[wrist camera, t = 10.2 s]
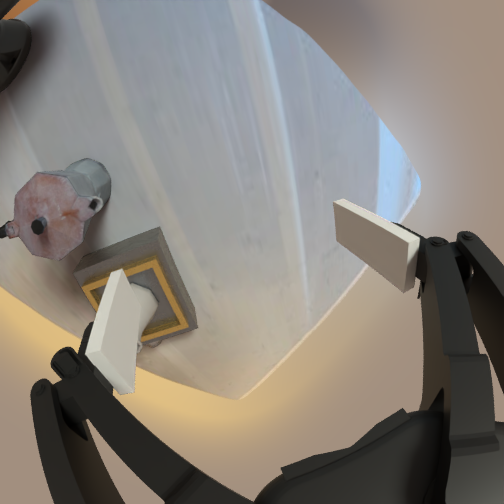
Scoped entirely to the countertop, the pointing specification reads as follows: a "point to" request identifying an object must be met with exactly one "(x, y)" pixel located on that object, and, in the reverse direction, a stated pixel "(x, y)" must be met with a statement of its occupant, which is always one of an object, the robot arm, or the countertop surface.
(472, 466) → the robot arm
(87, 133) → the countertop surface
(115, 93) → the countertop surface
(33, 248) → the moka pot
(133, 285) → the flask
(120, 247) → the plate
